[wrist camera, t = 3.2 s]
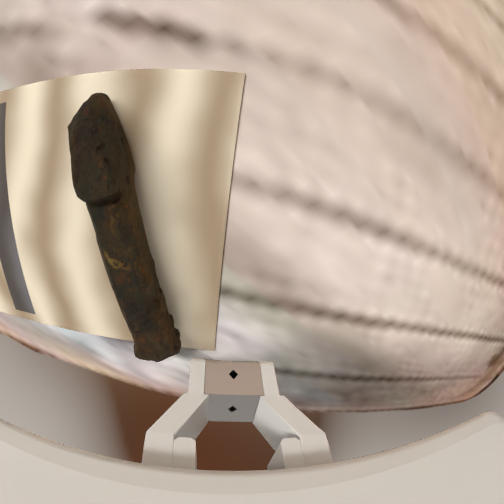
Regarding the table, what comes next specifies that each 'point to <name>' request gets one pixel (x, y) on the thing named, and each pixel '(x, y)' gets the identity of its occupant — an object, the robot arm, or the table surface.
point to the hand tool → (120, 225)
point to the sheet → (147, 188)
